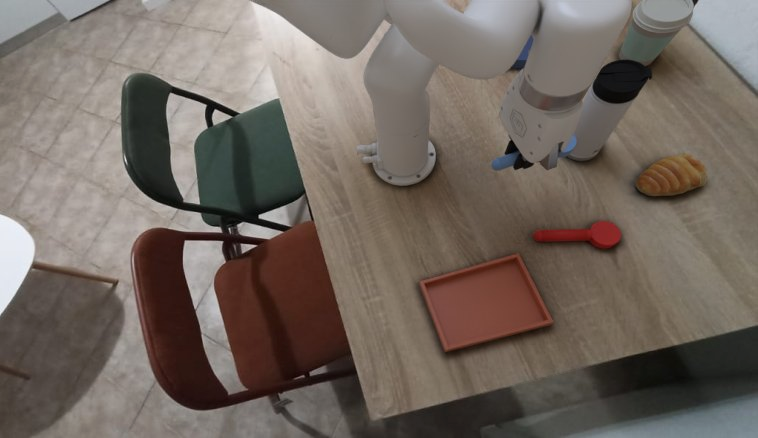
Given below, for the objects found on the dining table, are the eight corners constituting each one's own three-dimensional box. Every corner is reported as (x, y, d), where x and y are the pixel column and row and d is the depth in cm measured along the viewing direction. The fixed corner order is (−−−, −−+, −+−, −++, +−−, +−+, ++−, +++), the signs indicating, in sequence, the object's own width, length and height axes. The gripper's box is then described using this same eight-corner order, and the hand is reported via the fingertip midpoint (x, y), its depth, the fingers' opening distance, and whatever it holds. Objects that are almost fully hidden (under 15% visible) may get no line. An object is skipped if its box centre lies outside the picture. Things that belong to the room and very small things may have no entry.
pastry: (650, 207, 75) (661, 197, 71) (623, 177, 78) (633, 166, 74) (705, 186, 74) (719, 174, 70) (676, 156, 77) (688, 143, 74)
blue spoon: (497, 180, 70) (499, 174, 68) (484, 158, 72) (486, 152, 70) (578, 151, 68) (583, 144, 66) (563, 130, 70) (567, 123, 68)
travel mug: (602, 162, 80) (655, 89, 62) (560, 161, 82) (601, 90, 64) (599, 133, 82) (650, 55, 65) (559, 132, 84) (598, 57, 67)
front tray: (444, 352, 74) (445, 350, 72) (419, 284, 79) (419, 281, 77) (549, 325, 71) (553, 322, 69) (515, 257, 77) (518, 252, 75)
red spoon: (534, 249, 77) (536, 245, 75) (530, 226, 79) (533, 222, 77) (620, 248, 73) (625, 244, 72) (614, 224, 75) (618, 219, 73)
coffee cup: (669, 68, 84) (706, 18, 73) (617, 76, 86) (646, 28, 75) (654, 35, 87) (687, -17, 77) (605, 44, 89) (630, -7, 79)
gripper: (493, 49, 58) (473, 129, 74) (558, 142, 50) (520, 209, 67) (550, 27, 57) (517, 113, 73) (624, 118, 50) (570, 191, 66)
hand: (519, 158), depth 70 cm, fingers closed on blue spoon, 2 cm apart
